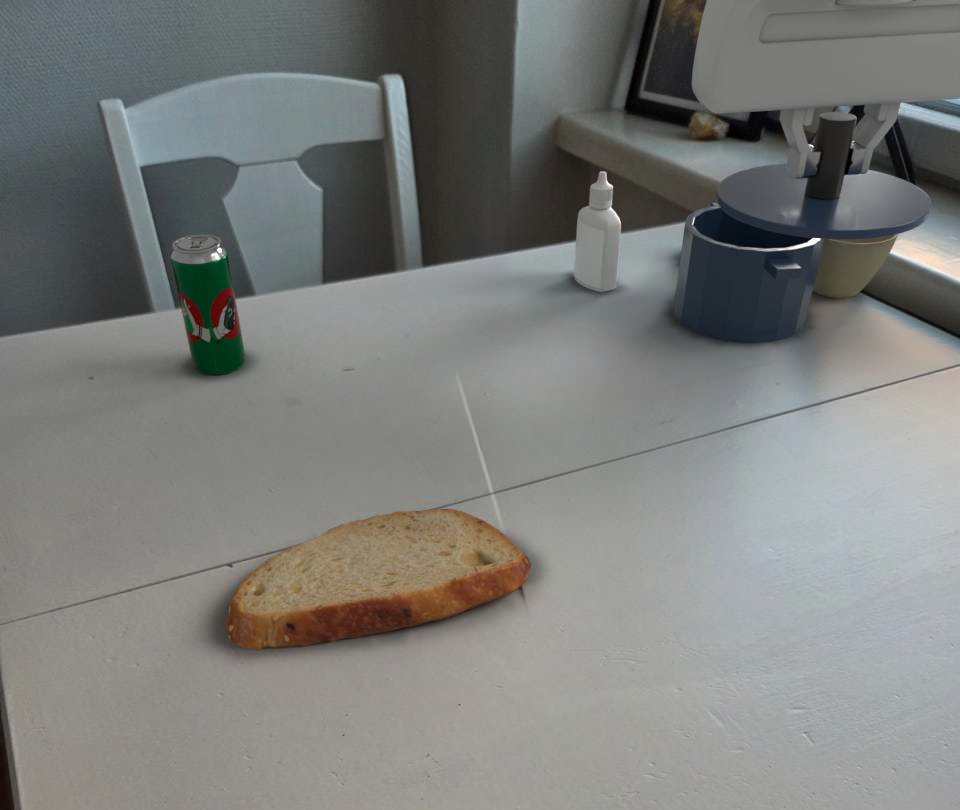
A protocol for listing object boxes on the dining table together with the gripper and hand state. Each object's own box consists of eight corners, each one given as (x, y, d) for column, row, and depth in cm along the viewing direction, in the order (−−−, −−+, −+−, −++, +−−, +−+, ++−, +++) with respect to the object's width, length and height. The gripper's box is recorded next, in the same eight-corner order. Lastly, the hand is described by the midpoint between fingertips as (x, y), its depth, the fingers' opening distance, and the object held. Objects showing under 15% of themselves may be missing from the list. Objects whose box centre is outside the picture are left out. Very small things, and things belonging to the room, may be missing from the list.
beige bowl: (787, 304, 107) (801, 237, 102) (788, 270, 114) (801, 206, 109) (883, 313, 105) (902, 245, 100) (878, 278, 112) (895, 213, 108)
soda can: (248, 354, 98) (227, 231, 90) (245, 377, 94) (223, 251, 86) (196, 356, 98) (171, 233, 90) (191, 380, 94) (164, 254, 86)
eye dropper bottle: (577, 295, 109) (585, 180, 101) (572, 275, 113) (579, 164, 105) (617, 294, 109) (627, 180, 101) (610, 275, 113) (619, 163, 105)
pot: (766, 279, 112) (783, 192, 106) (836, 352, 98) (860, 256, 92) (651, 286, 111) (661, 198, 104) (705, 362, 97) (720, 265, 90)
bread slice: (203, 638, 66) (192, 595, 64) (338, 501, 78) (334, 461, 76) (443, 716, 61) (441, 673, 58) (548, 557, 73) (550, 515, 70)
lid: (868, 173, 76) (888, 84, 72) (967, 240, 66) (998, 139, 61) (687, 186, 75) (698, 96, 71) (759, 256, 64) (777, 154, 60)
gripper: (1005, -81, 63) (941, 151, 72) (698, -69, 61) (673, 170, 70) (1065, -69, 58) (988, 178, 67) (735, -55, 56) (702, 199, 65)
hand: (825, 174), depth 69 cm, fingers closed on lid, 2 cm apart
